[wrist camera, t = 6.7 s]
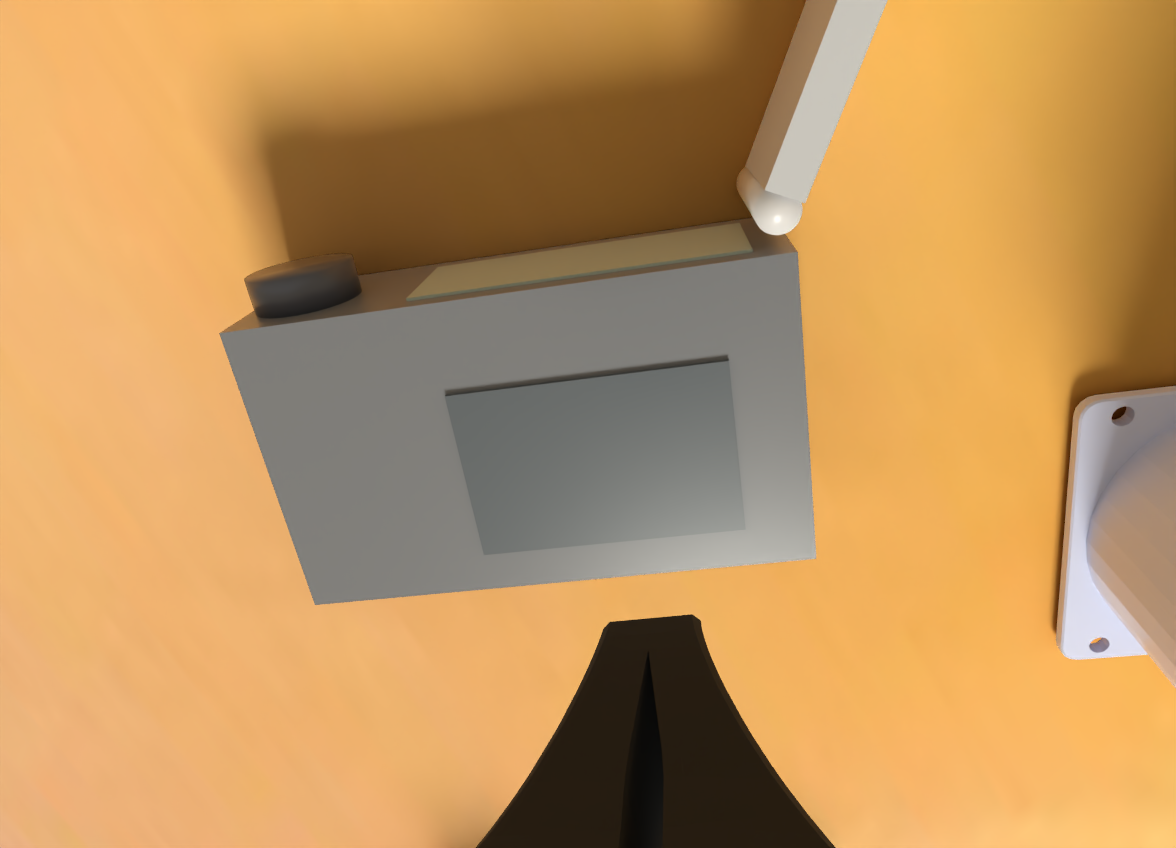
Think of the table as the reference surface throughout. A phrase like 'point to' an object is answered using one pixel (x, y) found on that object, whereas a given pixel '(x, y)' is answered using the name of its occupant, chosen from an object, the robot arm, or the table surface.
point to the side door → (805, 108)
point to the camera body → (534, 412)
